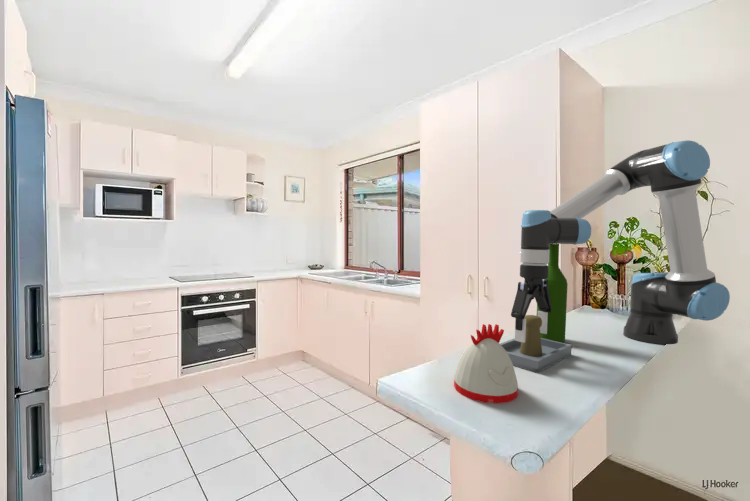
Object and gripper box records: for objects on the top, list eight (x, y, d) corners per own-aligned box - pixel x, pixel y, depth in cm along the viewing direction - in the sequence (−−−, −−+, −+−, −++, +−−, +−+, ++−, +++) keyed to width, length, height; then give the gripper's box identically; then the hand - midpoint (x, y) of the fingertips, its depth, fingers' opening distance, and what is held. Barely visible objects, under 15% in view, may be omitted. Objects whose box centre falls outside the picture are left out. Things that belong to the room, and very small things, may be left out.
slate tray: (525, 343, 116) (525, 334, 116) (571, 354, 106) (571, 344, 106) (488, 358, 102) (488, 347, 102) (537, 373, 91) (537, 361, 91)
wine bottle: (559, 336, 124) (563, 243, 123) (569, 344, 116) (573, 244, 114) (532, 335, 126) (536, 243, 124) (539, 342, 117) (543, 244, 116)
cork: (544, 357, 100) (546, 318, 100) (522, 355, 101) (523, 317, 101) (539, 350, 106) (540, 314, 106) (517, 348, 107) (519, 312, 107)
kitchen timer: (531, 399, 77) (534, 330, 76) (475, 407, 73) (477, 334, 72) (492, 374, 90) (494, 315, 89) (443, 379, 86) (445, 318, 86)
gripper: (540, 261, 113) (537, 327, 115) (499, 265, 97) (496, 341, 98) (565, 263, 108) (562, 332, 109) (526, 267, 91) (523, 348, 93)
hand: (531, 337), depth 104 cm, fingers open, 13 cm apart
